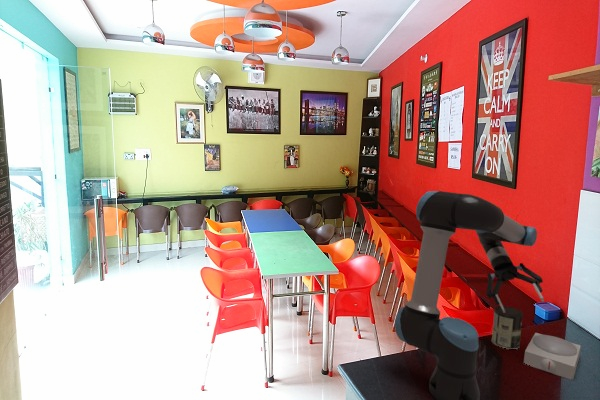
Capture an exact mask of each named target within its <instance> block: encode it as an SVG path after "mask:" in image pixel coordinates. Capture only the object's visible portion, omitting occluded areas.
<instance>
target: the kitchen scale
mask: <svg viewBox="0 0 600 400" xmlns="http://www.w3.org/2000/svg"><path fill="white" fill-rule="evenodd" d="M580 355H581V345H580V344H577V343H573V342H570V341H568V340H566V339H563V338H561V337H558V336H553V335H548V334H541V333H538V332H535V333H534V335H533V336H532V337H531V340H530V342H529V343H528V345H527V347H526V349H525V351H524V358H523V364H524V363H525V364H524V365H526V364H527V365H526V366H529V365H530V366H529V367H532V368H535V369H538V370H541V371H544V372H547V373H550V374H553V375H556V376H559V377H562V378H564V379H567V380H570V381H574V379H575V378H574V377H575V375H576V371H577V367H578V363H579V359H580Z"/></svg>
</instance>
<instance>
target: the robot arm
mask: <svg viewBox="0 0 600 400" xmlns="http://www.w3.org/2000/svg"><path fill="white" fill-rule="evenodd" d="M415 215H416V216H415V217H416V219H417V220H418V221H419V222H420V225H419V227H420V228H421V230H422V232H423V234H422V240H421V245H420V250H419V255H418V259H417V260H418V261H417V266H416V270H415V276H414V282H413V287H412V291H411V298H410V300H408V301H407V302H405V304H404V305H405V306H402V307H400V308H399V310H398V311H397V314H396V315H395V318H394V319H395V320H394V329H395V330H394V332H395V335H396V336H397V337H398V339H399V340H400V341H402V342H404V343H406V344H407V345H409V346H412V347H415V348H417V349H419V350H421V351H422V352H426V353H428V354H430V355H432V356H435V357H436V364H435V365H436V366H435V368H434V371H433V372H432V374H431V376H430V378H429V381H428V382H429V383H428V390H429V392H430V394H431V395H432V397H433V398H435V400H480V397H481V393H480V392H481V391H480V388H479V384H478V381H477V376H476V370H477V362H478V352H479V351H478V350H479V347H480V344H479V333H478V331H477V330H476V328H475V326H473V325H472V324H471V323H469V322H467V321H465V320H463V319H461V318H457V317H453V316H445V317H442V318H441V317H440V316H441V311H440V309H439V308H438V301H439V296H440V290H441V287H442V286H441V285H442V281H443V280H442V278H443V274H444V267H445V263H446V258H447V252H448V246H449V241H450V238H451V237H452V236H454V235H455V234H456V229H460V230H469V231H470V230H471V231H475V233H476V235H477V237H478V240H479V243H480V245H481V247H482V249H483V250H484V252H485V254H486V257H487V259H488V262H489V263H490V264H491V267H492V269H493V272H494V273H489V272H488V273H486V274H487V275H486V276H487V278H488V279H487V284H486V285H487V286H486V292H485V293H486V296H487V298H488V299H493V300H494V303H495V305H497V306H501V308H502V310H503V313H505V310H504V307H503V306H504V305H503V303H502V301H501V299H500V296H499V292H500V289H501V287H502V285H503V284H504V282H508V281H511V280H515V278H516V279H518V280H521V281H524V282H526V283H529V284H531V285H533V288H534V289H535V292H536V294H537V296H538V297H539V299H540V300H541V302H542V303H544V302H545V299H544V296H543V295H542V293H543V288H542V286H541V285H540V284H542V283H543V282H544V281H543V278H542V276H540V275H538V274H537V273H535V272H534V271H533V270H531V269H529V268H528V267H526V266H525V265H524V263H522V262H520V263H519V264H518V265H515V264H514V263H513V261H512V259H511V258H510V256H509V254H508V251H507V249H506V247H504V245H503V242H505V243H509V244H515V245H519V246H523V247H524V246H525V247H533V246H534V245H535V244H536V242H537V238H538V231H537V228H536V227H533V226H529V225H522V224H521V223H519V222H518V221H516V220H514V219H512V218H511V217H509V215H506V214H504V211H503V209H501V207H499V206H497V205H496V204H495V203H493V202H490V201H488V200H486V199H484V198H482V197H479V196H477V195H473V194H469V193H461V192H460V193H459V192H458V193H457V192H452V191H443V190H429V191H427V192H425V193H424V194H423V195H422V196H421V197H420V198H419V200H418V202H417V205H416V207H415ZM518 270H519V271H521V272H523V273H524V274H523V273H520V272H519V271H518ZM525 274H526V275H525ZM527 275H528V276H527ZM495 277H496V278H497V280H496V283H495V285H494V286H493V284H494V280H495Z"/></svg>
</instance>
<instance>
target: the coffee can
mask: <svg viewBox="0 0 600 400" xmlns="http://www.w3.org/2000/svg"><path fill="white" fill-rule="evenodd" d="M503 307H504V310H505V313H503V310H502V308H501V306H500V305H497V306H494V308H493V310H494V311H493V323H492V334H491V336H492V337H491V343H492V344H493V345H495V346H496V347H498V346H499V347H498V348H501V347H502V348H501V349H504V348H506V349H505V350H509V349H516V350H519V349H520V348H521V347H520V345H521V333H522V324H523V316H524V313H523V312H522V311H521V310H520V309H518V308H514V307H510V306H505V305H503ZM518 348H519V349H518Z"/></svg>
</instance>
